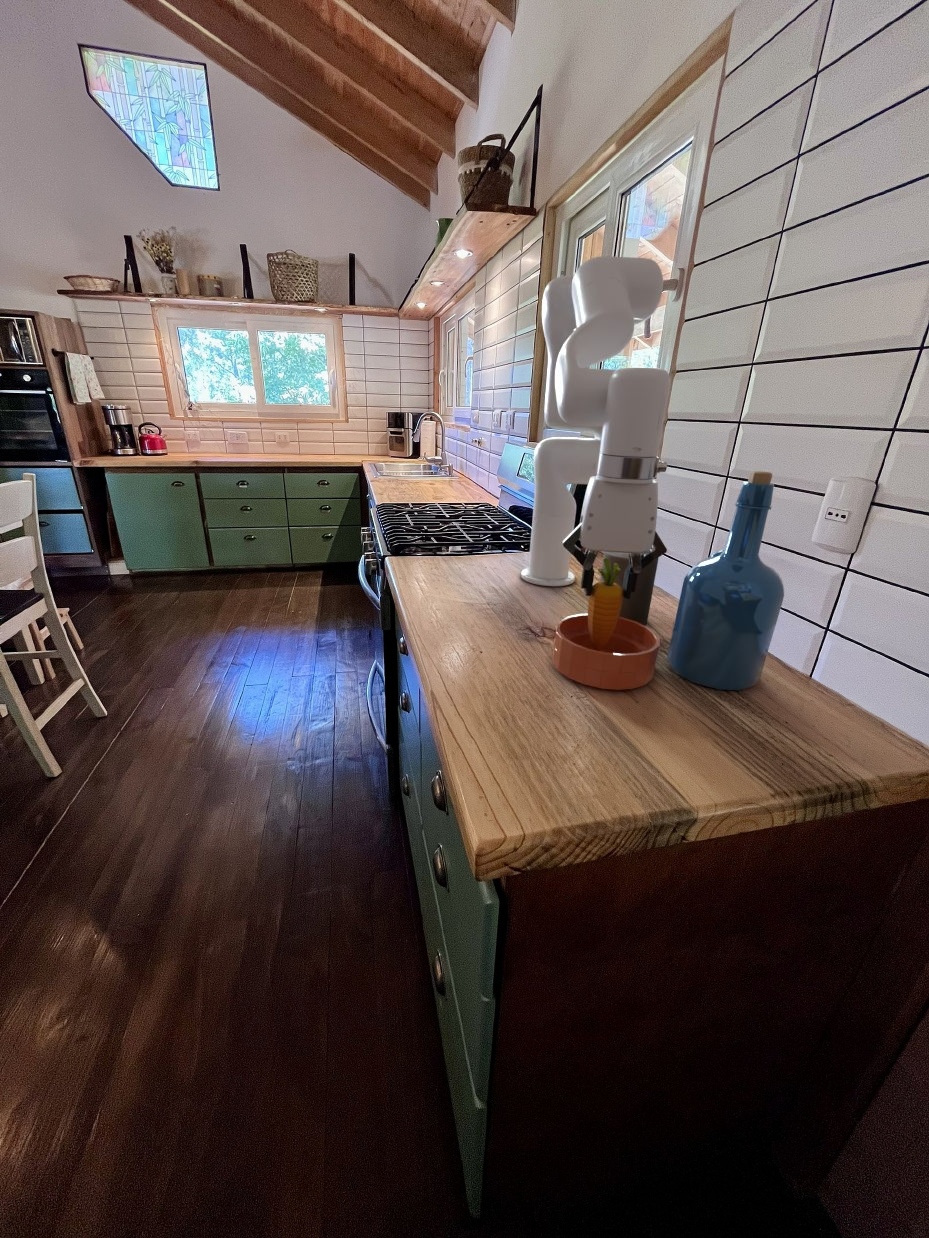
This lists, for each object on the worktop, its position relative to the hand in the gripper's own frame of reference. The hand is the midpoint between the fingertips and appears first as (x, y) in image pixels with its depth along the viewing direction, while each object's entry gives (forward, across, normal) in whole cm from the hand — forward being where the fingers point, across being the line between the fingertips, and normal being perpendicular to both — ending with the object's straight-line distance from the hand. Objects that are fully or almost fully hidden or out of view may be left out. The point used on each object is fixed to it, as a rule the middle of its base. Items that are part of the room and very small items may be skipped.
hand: (606, 593), depth 75 cm
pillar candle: (+12, -7, -18) cm, 23 cm away
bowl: (+12, -1, +2) cm, 12 cm away
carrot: (+10, 0, 0) cm, 10 cm away
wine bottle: (+12, -18, 0) cm, 21 cm away
